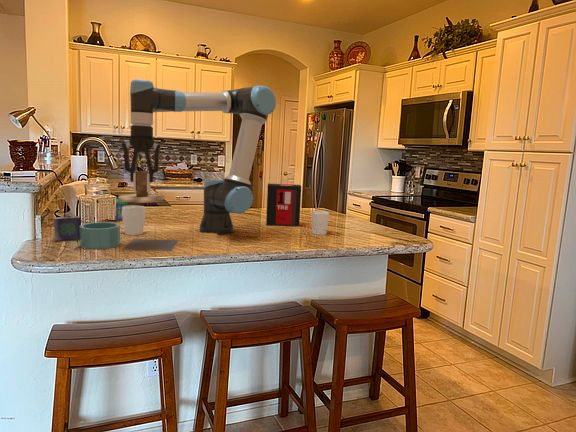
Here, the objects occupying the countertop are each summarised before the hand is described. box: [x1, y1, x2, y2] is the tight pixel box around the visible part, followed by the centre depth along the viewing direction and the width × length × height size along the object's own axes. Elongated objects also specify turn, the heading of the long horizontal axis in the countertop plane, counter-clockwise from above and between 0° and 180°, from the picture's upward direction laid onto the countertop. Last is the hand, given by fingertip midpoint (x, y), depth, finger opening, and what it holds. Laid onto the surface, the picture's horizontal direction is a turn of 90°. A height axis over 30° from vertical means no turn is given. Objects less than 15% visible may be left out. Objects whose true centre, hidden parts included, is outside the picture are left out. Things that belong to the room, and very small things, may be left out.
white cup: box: [311, 210, 330, 236], centre depth 196 cm, size 8×8×10 cm
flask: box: [53, 212, 82, 242], centre depth 163 cm, size 9×3×11 cm, turn 121°
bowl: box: [79, 221, 121, 250], centre depth 155 cm, size 13×13×8 cm
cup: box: [122, 204, 146, 236], centre depth 175 cm, size 9×9×12 cm
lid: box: [117, 170, 166, 204], centre depth 154 cm, size 16×16×10 cm
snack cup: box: [115, 197, 129, 222], centre depth 205 cm, size 16×10×10 cm
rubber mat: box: [122, 238, 179, 252], centre depth 158 cm, size 17×17×1 cm
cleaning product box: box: [265, 183, 302, 228], centre depth 214 cm, size 16×9×20 cm, turn 92°
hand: (142, 191), depth 154 cm, fingers closed on lid, 4 cm apart
